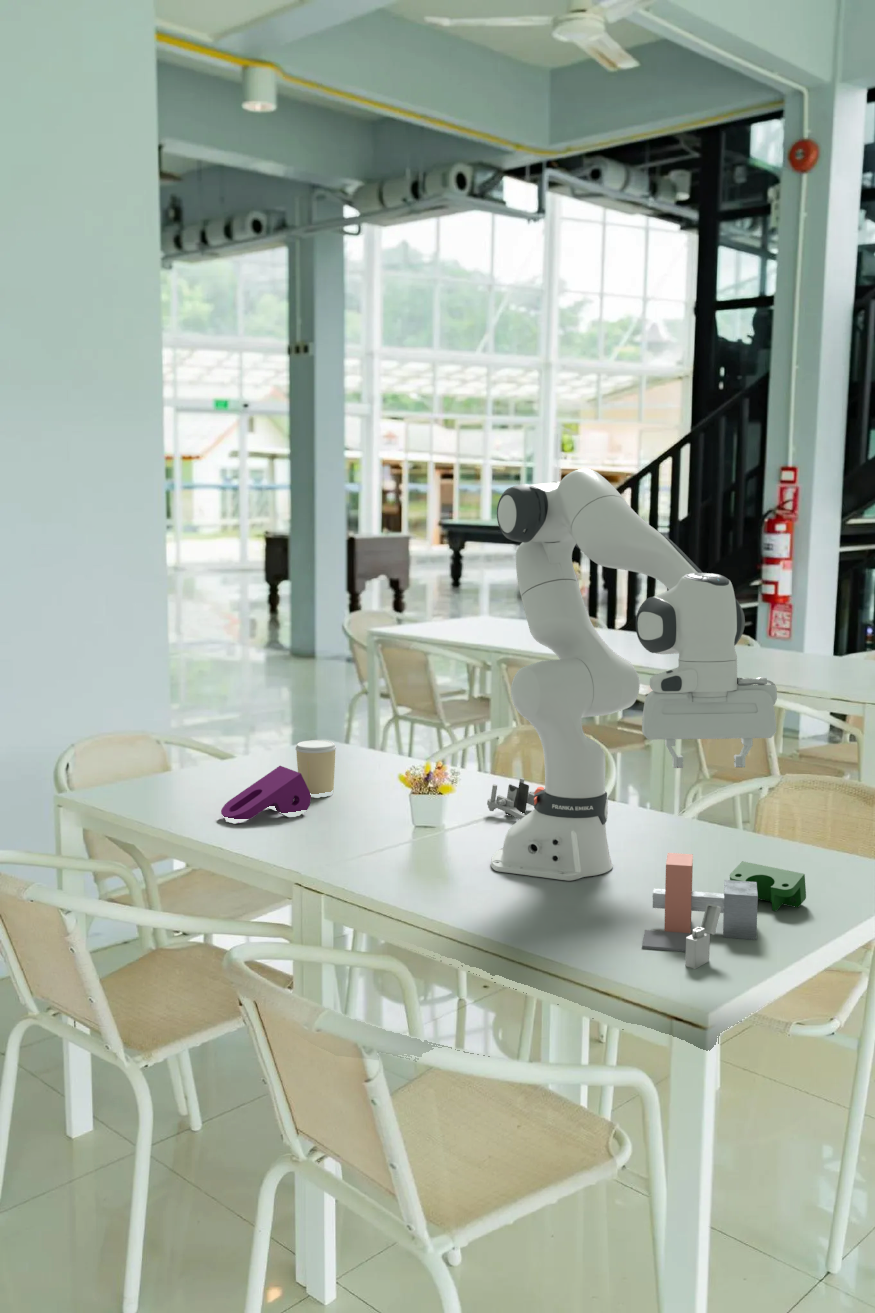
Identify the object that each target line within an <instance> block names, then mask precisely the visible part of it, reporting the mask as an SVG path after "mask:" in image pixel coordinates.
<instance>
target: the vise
mask: <svg viewBox="0 0 875 1313" xmlns="http://www.w3.org/2000/svg"><path fill="white" fill-rule="evenodd" d="M758 901H759V899H758V893H757V883H756V882H748V881H733V880H730V879H724V880H723V892H721V893H720V892H708V891H697V890H695V891H694V890H692V894H691V911H692V912H693V911H694V912H704V913H705V909H706V906H707V904H712V905H716V906H719V907H721V911H720V914H722V915H723V916H722V938H727V939H741V940H743V939H744V940H756V941H757V934H758V933H757V931H758V930H757V929H758V928H757V926H758ZM652 909H664V910H665V888H664V889H663V888H653V890H652Z"/></svg>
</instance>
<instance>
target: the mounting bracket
mask: <svg viewBox="0 0 875 1313" xmlns="http://www.w3.org/2000/svg"><path fill="white" fill-rule="evenodd" d="M311 799H312V798H311V795H310V791H309V789H308V787H307V785H306V783H305V781H304V779H303V777H302V775H301V773H299V772H298V771H295V770H293V769H291V768H287V767H285V766H282V765H278V766H277V767H276V768H274V769H273V770H271V771H270V772H269V773H267V774H265V775H264V776H263V777H261V778H260V779H258V780H257V781H255V782H254V783H252V784H251V785H250V786H248V787H247V788H245V789H244V790H242V791H241V792H240V793H238V794H237V795H234V796H233V797H232V798H231V799H229V800H228V801H227V802H226V803H224V805H223V807H222V808H221V811H220V814H221V816H222V815H223V816H224V817H228V818H234V819H249V820H251V819H253V818H254V817H256V816H257V815H259V814H260V813H262V812H263V811H265V810H266V809H268V808H267V807H269V806H275V808H276V810H277V811H276V812H277V813H279V812H281V813H288V812H296V811H301V810H307V811H308V809H309V808H310V806H311V801H312V800H311ZM223 816H222V817H223Z"/></svg>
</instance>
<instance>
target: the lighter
mask: <svg viewBox="0 0 875 1313" xmlns="http://www.w3.org/2000/svg"><path fill="white" fill-rule="evenodd" d="M720 911H721V907H719V906H716V905H712V904H707V906H706V909H705V912H704V914H703V917H702V922H701V926H696V927H695V928H693V929H691V930H692V932H691V933H692V934H690V936H688V937H686V952H685V962H684V963H685V967H687V968H689V969H697V968H698V969H699V968H700V967H702V966H703V965H705V964H707V963H709V962H710V943H711V941H710V940H711V935H715V934H716V930H717V926H718V924H719V923H718V922H719V919H720V914H721V913H720Z"/></svg>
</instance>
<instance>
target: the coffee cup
mask: <svg viewBox="0 0 875 1313" xmlns="http://www.w3.org/2000/svg"><path fill="white" fill-rule="evenodd" d="M336 750H337V746H336V744H335V742H333V741H330V740H326V739H323V740H322V739H321V740H320V739H312V740H303V741H299V742H298V743H296V746H295V751H296V762H297V764H296V766H297V772H299V773H301V775H302V777H303V779H304V781H305V783H306V785H307V787H308V789H309V791H310V793H311V794H319V793H325V792H331V791H332V790H333V791H334V784H335V771H336V770H335V768H336Z"/></svg>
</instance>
